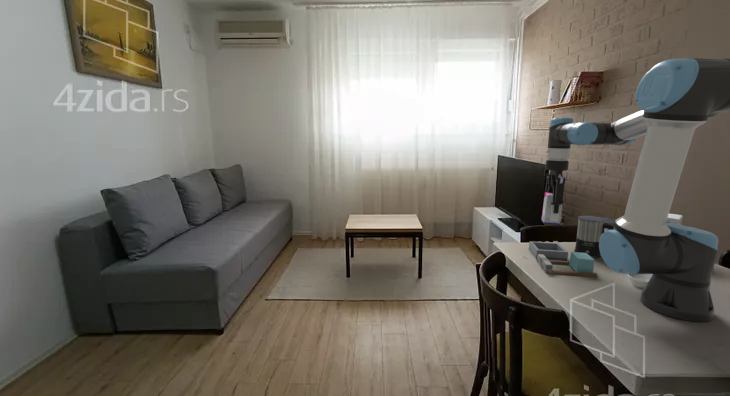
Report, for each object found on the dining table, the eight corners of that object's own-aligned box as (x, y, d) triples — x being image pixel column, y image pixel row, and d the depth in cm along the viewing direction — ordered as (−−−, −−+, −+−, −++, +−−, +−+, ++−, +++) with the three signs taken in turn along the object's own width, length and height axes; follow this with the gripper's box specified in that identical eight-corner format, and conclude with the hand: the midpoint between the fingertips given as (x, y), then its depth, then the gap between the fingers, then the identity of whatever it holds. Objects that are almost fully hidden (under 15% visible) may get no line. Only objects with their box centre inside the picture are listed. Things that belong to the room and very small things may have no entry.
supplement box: (560, 225, 131) (564, 195, 128) (543, 223, 132) (546, 194, 130) (557, 221, 136) (560, 192, 134) (540, 220, 138) (543, 192, 136)
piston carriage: (592, 273, 118) (594, 259, 117) (576, 272, 119) (578, 258, 118) (584, 266, 125) (586, 252, 124) (569, 264, 126) (570, 251, 125)
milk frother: (577, 256, 135) (581, 219, 133) (566, 244, 150) (570, 211, 147) (619, 260, 131) (624, 222, 128) (604, 247, 146) (609, 213, 143)
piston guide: (597, 277, 116) (598, 268, 115) (545, 273, 119) (546, 264, 119) (583, 264, 127) (584, 257, 126) (536, 261, 130) (537, 253, 129)
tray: (567, 260, 130) (568, 252, 130) (536, 258, 132) (536, 250, 132) (557, 251, 141) (558, 243, 140) (528, 249, 143) (529, 241, 142)
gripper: (539, 157, 139) (533, 213, 144) (555, 161, 121) (548, 224, 125) (559, 157, 138) (553, 213, 142) (578, 162, 120) (570, 226, 124)
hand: (550, 219), depth 134 cm, fingers closed on supplement box, 6 cm apart
